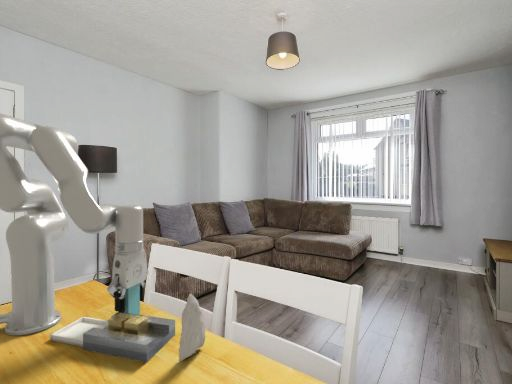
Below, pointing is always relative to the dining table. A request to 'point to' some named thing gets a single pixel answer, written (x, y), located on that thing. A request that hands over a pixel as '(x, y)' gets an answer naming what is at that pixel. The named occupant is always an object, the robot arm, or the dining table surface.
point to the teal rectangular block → (132, 299)
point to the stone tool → (191, 328)
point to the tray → (77, 330)
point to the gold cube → (136, 325)
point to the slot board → (133, 355)
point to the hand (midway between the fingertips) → (129, 304)
